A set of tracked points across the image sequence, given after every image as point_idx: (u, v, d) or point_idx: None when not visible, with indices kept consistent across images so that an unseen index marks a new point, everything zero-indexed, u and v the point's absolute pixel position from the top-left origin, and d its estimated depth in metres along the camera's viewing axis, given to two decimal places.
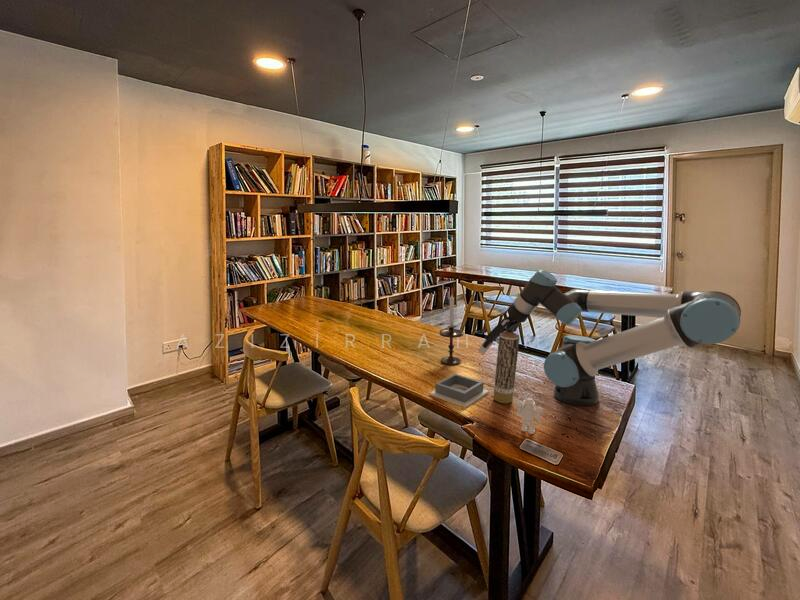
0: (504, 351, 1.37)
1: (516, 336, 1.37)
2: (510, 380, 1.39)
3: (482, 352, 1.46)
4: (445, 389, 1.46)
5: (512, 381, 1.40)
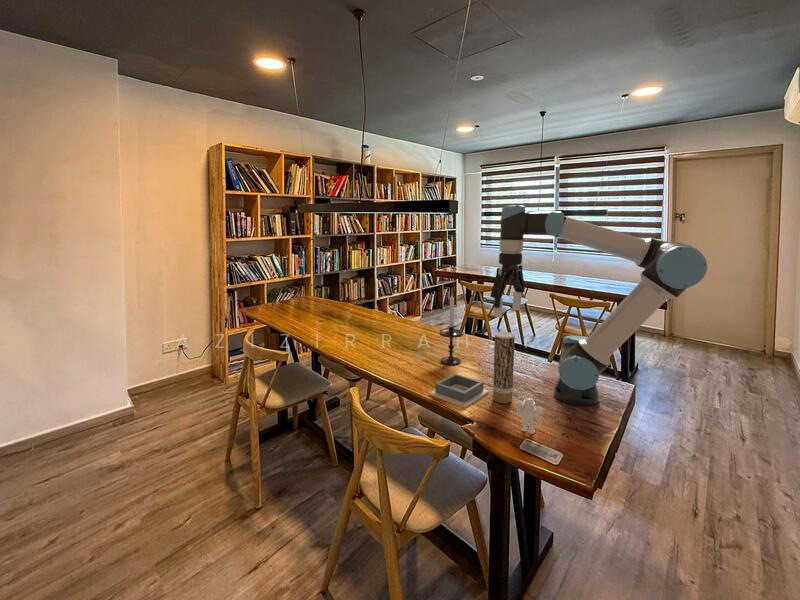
0: (500, 350, 1.38)
1: (511, 335, 1.38)
2: (508, 379, 1.40)
3: (499, 315, 1.32)
4: (445, 389, 1.46)
5: (510, 380, 1.40)
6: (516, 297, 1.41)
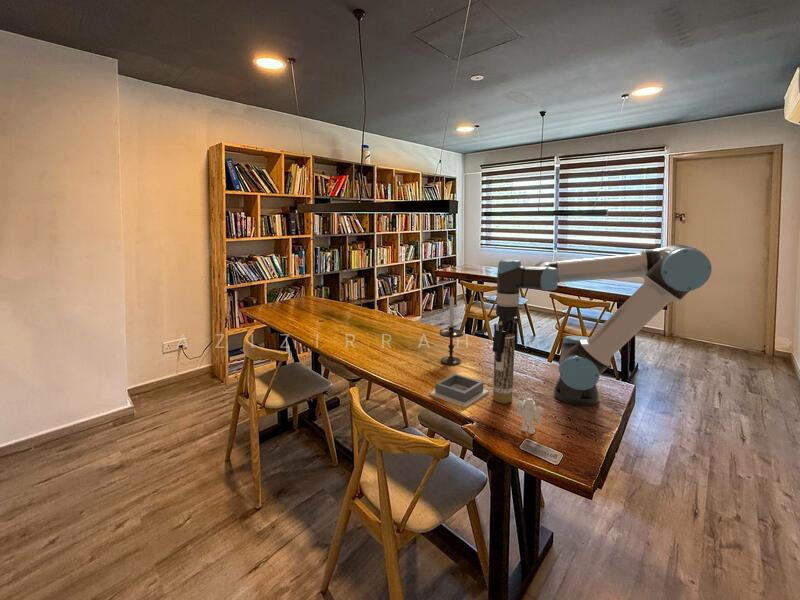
0: None
1: (511, 335, 1.38)
2: (508, 379, 1.40)
3: (500, 368, 1.38)
4: (445, 389, 1.46)
5: (510, 380, 1.40)
6: None
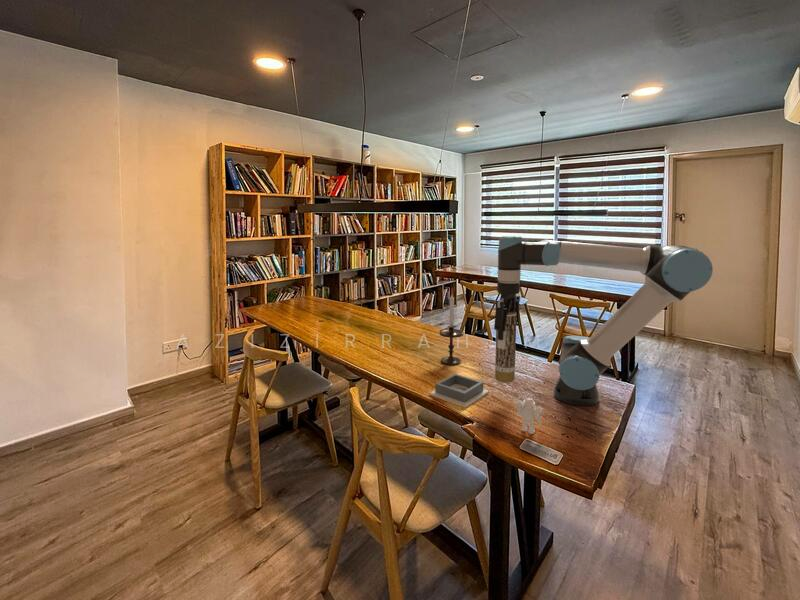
0: None
1: (513, 313, 1.36)
2: (510, 358, 1.38)
3: (502, 346, 1.36)
4: (445, 389, 1.46)
5: (513, 359, 1.38)
6: None
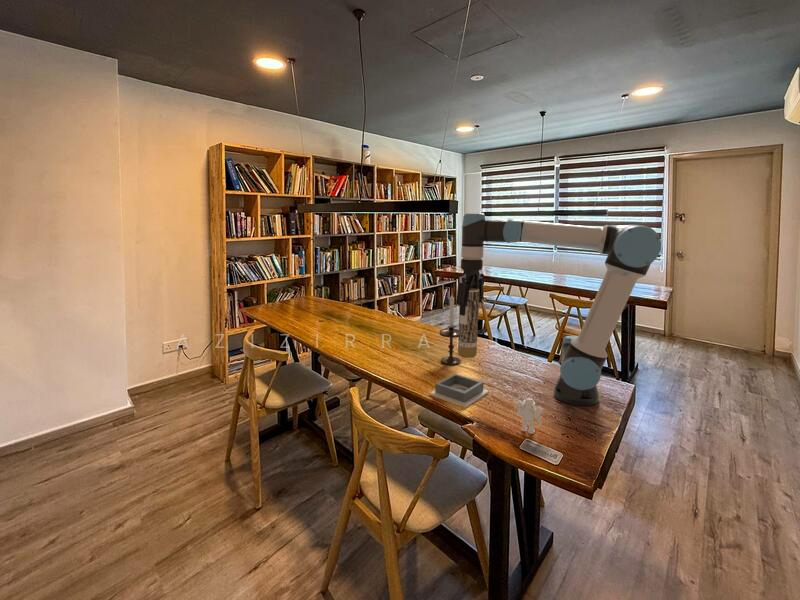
0: None
1: (476, 289, 1.39)
2: (472, 333, 1.41)
3: (464, 322, 1.39)
4: (445, 389, 1.46)
5: (474, 335, 1.41)
6: None
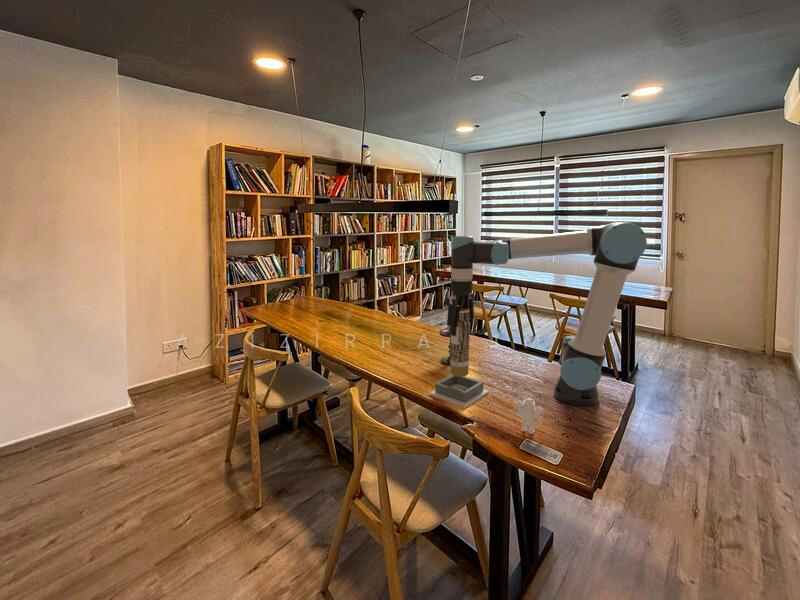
0: None
1: (466, 309, 1.42)
2: (463, 353, 1.43)
3: (455, 342, 1.42)
4: (445, 389, 1.46)
5: (466, 354, 1.44)
6: None
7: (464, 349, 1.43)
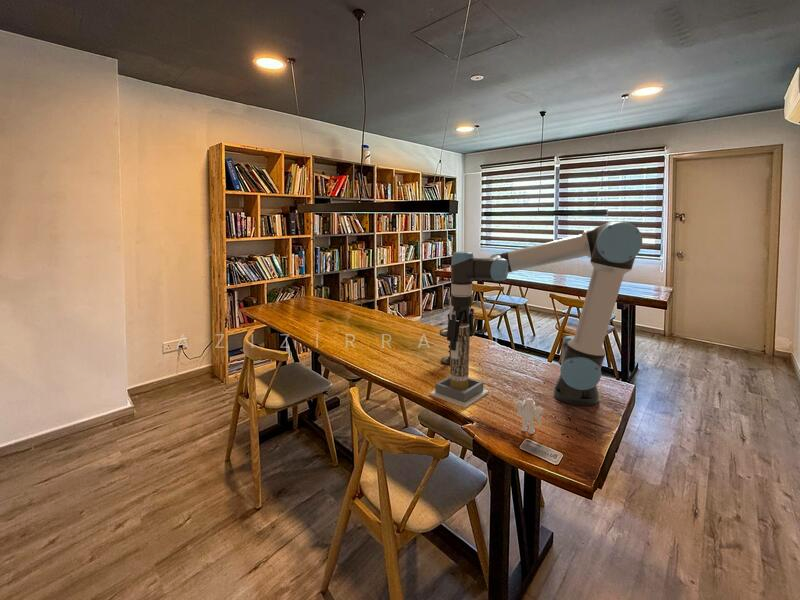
0: None
1: (466, 324, 1.43)
2: (463, 367, 1.45)
3: (455, 356, 1.43)
4: (445, 389, 1.46)
5: (465, 368, 1.45)
6: None
7: (464, 363, 1.44)
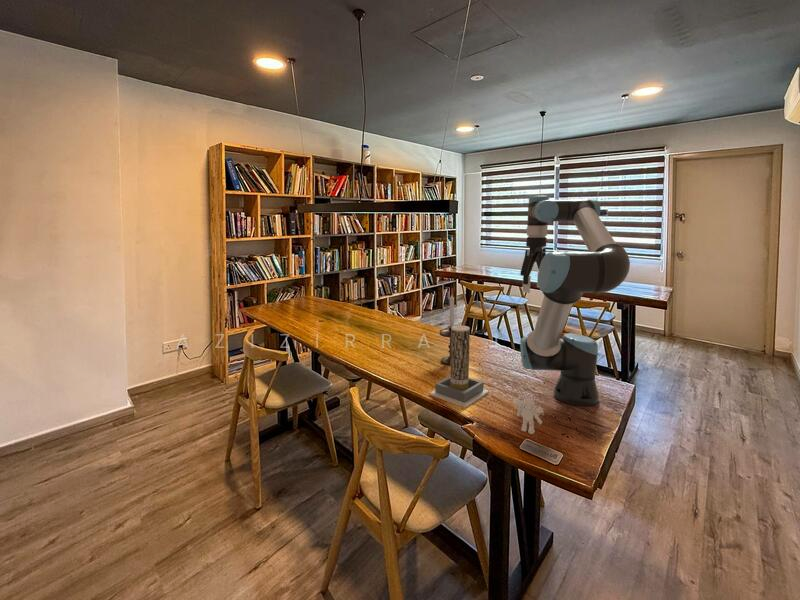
0: (455, 343, 1.43)
1: (466, 328, 1.43)
2: (463, 371, 1.45)
3: (527, 290, 1.53)
4: (445, 389, 1.46)
5: (466, 372, 1.45)
6: None
7: (464, 367, 1.45)
